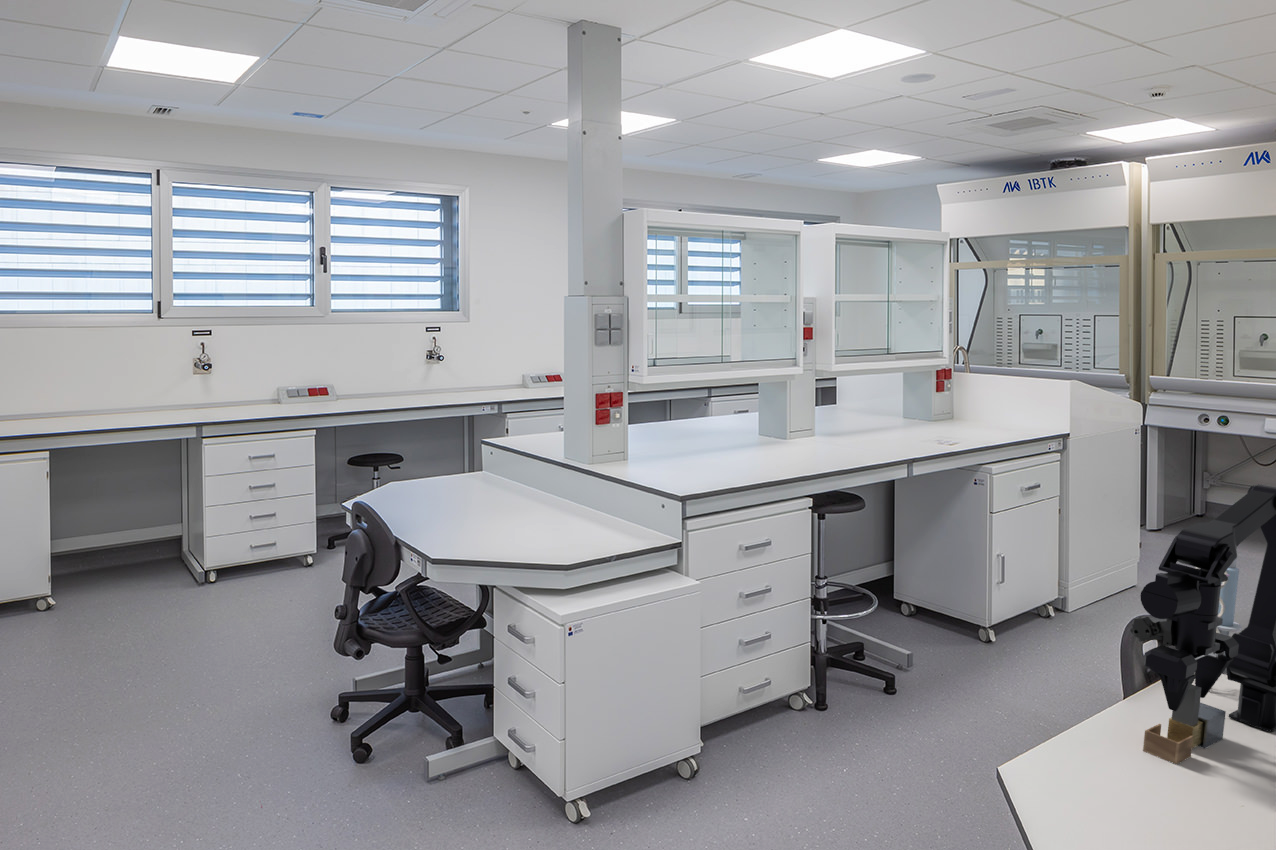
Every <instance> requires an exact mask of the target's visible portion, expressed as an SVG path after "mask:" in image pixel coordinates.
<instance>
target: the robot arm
mask: <svg viewBox="0 0 1276 850" xmlns="http://www.w3.org/2000/svg"><path fill="white" fill-rule="evenodd" d="M1258 529H1260V531H1261V533H1262V536H1263V537H1264V540H1265V542H1266V548H1265V551H1264V556H1263V560H1262V564H1261V569H1260V573H1259V578H1258V582H1257V586H1256V591H1255V595H1254V599H1253V604H1252V607H1251V610H1250V611H1251V612H1250V617H1249V620H1248V624H1247V626H1246V627H1244V628H1243V629H1242V630H1241V631H1239V632H1238V633H1236V632H1235V633H1234V632H1233V634H1232V635H1229V636H1227V635H1223V634H1220V633H1216V629H1217V626H1220V625H1222V621H1223V618H1219V617H1218V609H1219V600H1220V590H1221V582H1225V581H1227V580H1228V577H1227V576H1226V575H1225V574H1224V573H1225V572H1226V570H1227V569H1228V568H1229V566H1230V565H1231V564H1232V562H1233V561H1234V560H1235V559H1236V558H1237V559H1238V550H1237V549H1238V546H1239V545H1240V544H1241V543H1242V542H1243V541H1245V540H1246V539H1247V538H1249V537H1250V536H1251V535H1253V534H1254V533H1255V532H1256V531H1257V530H1258ZM1196 567H1197V568H1200V569H1196ZM1158 571H1161V572H1159V573H1156V574H1155V579H1154V581H1150V582H1148V583H1146V584H1145V586H1143V588H1142V590H1141V591H1140V596H1139V597H1140V603H1141V605H1142V607H1143V609H1144V610H1145V611H1146V613H1148V614H1149V615H1150V616H1151V617H1149V616H1144V617H1141V616H1138V617H1134V618H1133V622H1132V623H1131V629H1130V634H1133V635H1134V637H1135V638H1137V642H1142V643H1143V642H1146V641H1162V644H1163V645H1162V644H1161V645H1159V646H1156V647H1154V648H1152V649H1149V650H1148V651H1145V652H1144V654H1143V665H1144V666H1145V667H1147V668H1148V669H1149V670H1150V671H1152V672H1154V673H1155V674H1156V675H1157V676H1158V677H1159V679H1160V680H1161V681H1160V682H1161V684H1162V688H1163V692H1164V695H1165V698H1166V700H1165V701H1166V703H1167V707H1168V708H1167V709H1169V710H1171V711H1177V710H1178V708H1179V707H1180V705H1181V703H1182V701H1183V699H1184V698H1185V696H1186V694H1187V692H1188V690H1189V688H1190V686H1191V685H1193V683H1194V682H1195V686H1198V687H1201V697H1200V699H1204V698H1206V696H1207V695H1208V694H1209V692H1210V691H1211V689H1212V688H1213V687H1214V685H1215V684H1216V682H1217V681H1218V680H1219V679H1220V677H1221V676H1222V674H1224V673H1223V672H1224V670H1225V669H1227V673H1226V675H1227V680H1228V681H1233V682H1236V683H1238V684H1239V685H1240V686H1239V694H1238V695H1239V696H1238V705H1237V709H1236V710H1234V711H1233V712H1231V713H1229V714H1228V718H1230V719H1233V720H1236V721H1238V722H1241V723H1244V724H1246V725H1250V726H1253V727H1255V728H1258V729H1260V730H1262V731H1263V730H1264V731H1267V732H1269V733H1270V732H1274V731H1276V486H1272V485H1264V484H1259V483H1258V484H1254V485H1251V486H1250V487H1249V488H1248V491H1247V493H1246V494H1245V495H1244V496H1241V498H1239V499H1238V500H1237V501H1235V502H1234V503H1233V504H1232V505H1231V506H1229V507H1228V508H1227V509H1226V510H1224V511H1223V512H1221V513H1220V514H1219V515H1217V516H1216V517H1215V518H1213V519H1212V520H1210V521H1206V522H1199V523H1193V524H1191V525H1189V526H1187V527H1185V528H1183V529H1182V530H1180V531H1179V533H1177V534H1176V536H1174V538H1173V539H1172V542H1171V544H1170V545H1169V548H1168V549H1167V551H1166V553H1165V555H1164V557H1163V559H1162V560H1161V562H1160V564H1159V566H1158ZM1163 572H1164V573H1163ZM1165 645H1166V646H1165ZM1172 646H1173V647H1174V648H1172ZM1224 651H1225V655H1226V656H1225V655H1224ZM1194 673H1195V675H1194Z"/></svg>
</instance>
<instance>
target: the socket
mask: <svg viewBox="0 0 1276 850" xmlns="http://www.w3.org/2000/svg"><path fill="white" fill-rule="evenodd" d="M1161 730H1162V723H1158V724H1156V725H1154V726H1151V727H1150V728H1148V729H1145V730H1144V738H1143V747H1142V751H1143V752H1145V753H1147V752H1148V753H1147V754H1149V753H1150V755H1152V756H1155V757H1157V756H1158V757H1157V758H1159V757H1160V759H1161V760H1164V761H1166V760H1167V762H1169V761H1170V762H1169V763H1171V762H1173V763H1172V764H1174V763H1175V765H1176V764H1177V765H1179V764H1180V762H1181V763H1182V762H1184V761H1186V760H1187V758H1188V759H1189V757H1190V758H1191V756H1192V749H1193V748H1192V741H1193V736H1189V737H1187V738H1185V739H1183V740H1182V741H1180V742H1176V741H1173V740H1171V739H1168V738H1167V737H1165V736H1163V735H1161V734H1162V733H1161V732H1162V731H1161ZM1185 759H1186V760H1185ZM1178 763H1179V764H1178Z"/></svg>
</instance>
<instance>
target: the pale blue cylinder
mask: <svg viewBox="0 0 1276 850" xmlns="http://www.w3.org/2000/svg"><path fill="white" fill-rule="evenodd" d="M1237 559H1238V557H1237V558H1236V559H1235V560H1234V561H1233V562H1232V564H1231V565H1230V566H1229V568H1228V569H1227V570H1226V572H1227V573H1228V574H1229V575H1230V576H1228V581H1227V583H1226V584H1225V586H1224V587H1223V588H1222V589H1221V590H1220V597H1221V599H1222V600H1223V602H1224V605H1225V611H1224V613H1223V615H1222V617H1221V618H1223V621H1222V625H1220V626H1217V628H1218V630H1219V632H1220V634H1223V635H1227V636H1230V633H1231V632H1232V633H1234V632H1235V633H1236V632H1238V633H1239V632H1241V631H1242V630H1243V629H1242V628H1243V626H1242V625H1241V623H1237V622H1235V612H1236V602H1237V594H1238V593H1237V592H1238V585H1239V575H1240V568H1238V567H1237V562H1238V561H1237ZM1222 583H1223V582H1221V584H1222ZM1219 606H1221V604H1220V602H1219ZM1220 611H1221V608H1219V609H1218V614H1219V613H1220ZM1224 655H1225V651H1224ZM1225 656H1226V655H1225ZM1222 674H1227V669H1225V670H1224V672H1223V673H1222Z"/></svg>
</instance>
